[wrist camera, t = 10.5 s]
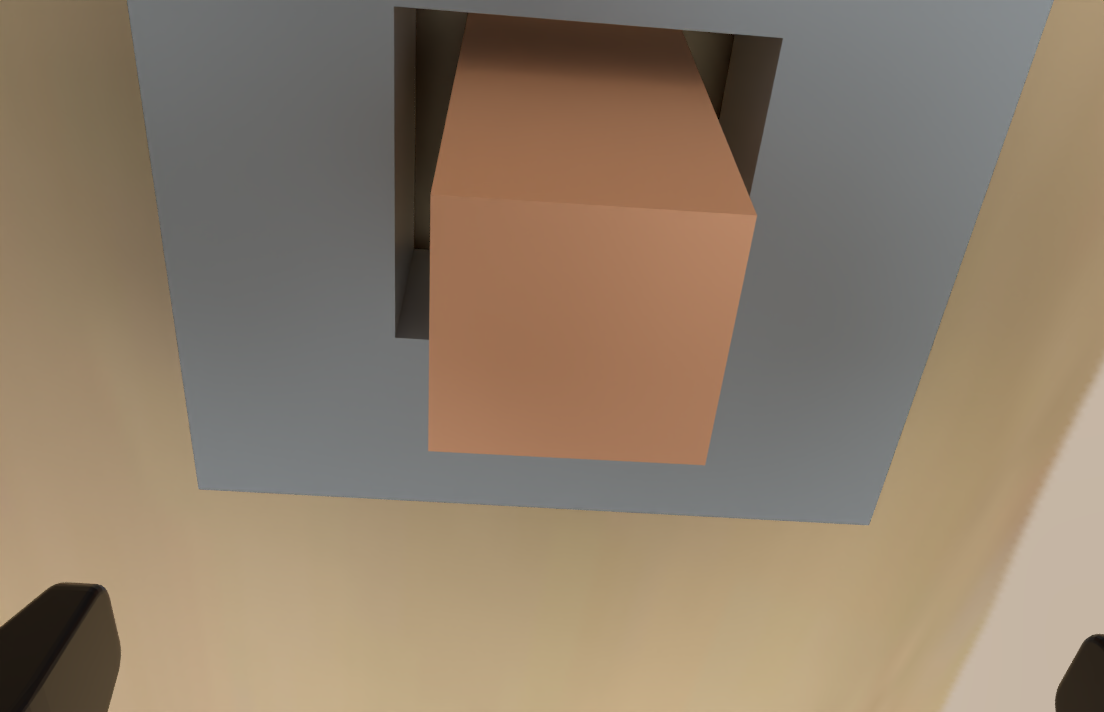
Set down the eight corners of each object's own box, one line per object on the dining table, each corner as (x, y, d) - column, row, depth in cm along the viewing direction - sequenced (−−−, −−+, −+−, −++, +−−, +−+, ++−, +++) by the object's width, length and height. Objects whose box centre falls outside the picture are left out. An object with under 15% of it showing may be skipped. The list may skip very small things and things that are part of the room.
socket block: (828, 424, 24) (868, 525, 21) (240, 389, 24) (198, 489, 21) (1031, -251, 17) (1137, -235, 14) (161, -338, 16) (76, -341, 13)
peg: (652, 218, 21) (705, 465, 15) (462, 206, 21) (428, 451, 14) (680, 27, 19) (757, 215, 12) (468, 11, 19) (430, 194, 12)
